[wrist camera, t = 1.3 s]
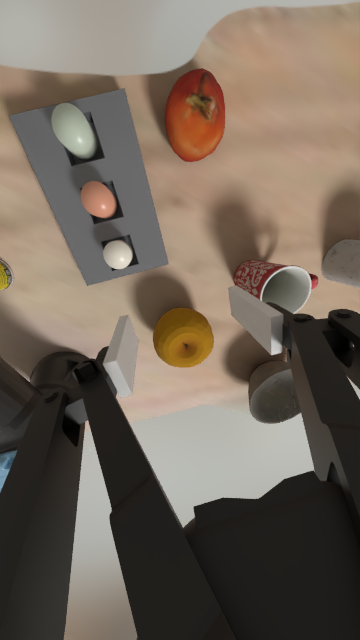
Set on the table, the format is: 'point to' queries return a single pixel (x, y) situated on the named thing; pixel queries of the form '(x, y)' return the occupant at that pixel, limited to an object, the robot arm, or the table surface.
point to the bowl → (273, 393)
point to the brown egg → (98, 200)
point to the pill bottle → (5, 276)
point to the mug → (276, 283)
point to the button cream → (118, 254)
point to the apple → (183, 337)
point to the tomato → (195, 115)
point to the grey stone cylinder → (343, 263)
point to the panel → (105, 167)
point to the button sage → (74, 131)
